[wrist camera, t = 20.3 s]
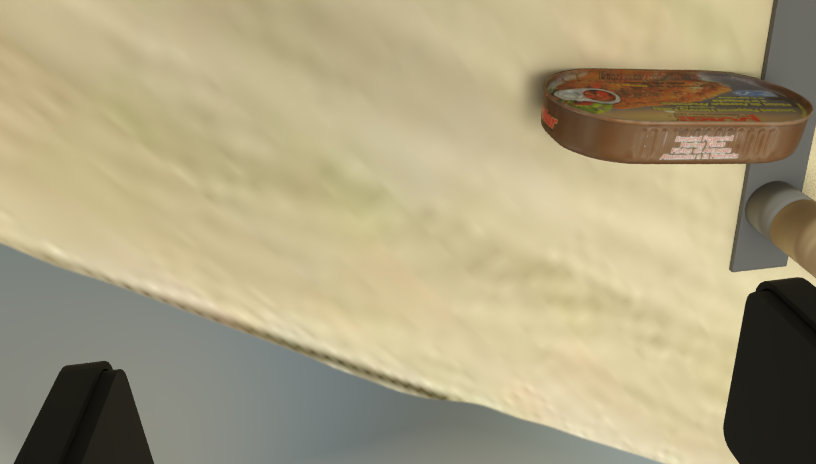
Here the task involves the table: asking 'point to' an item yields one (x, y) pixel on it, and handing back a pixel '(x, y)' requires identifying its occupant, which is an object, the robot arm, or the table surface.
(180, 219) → the table surface
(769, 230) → the tan and grey cylinder
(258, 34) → the table surface
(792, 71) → the strip
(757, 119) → the tin
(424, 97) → the table surface
